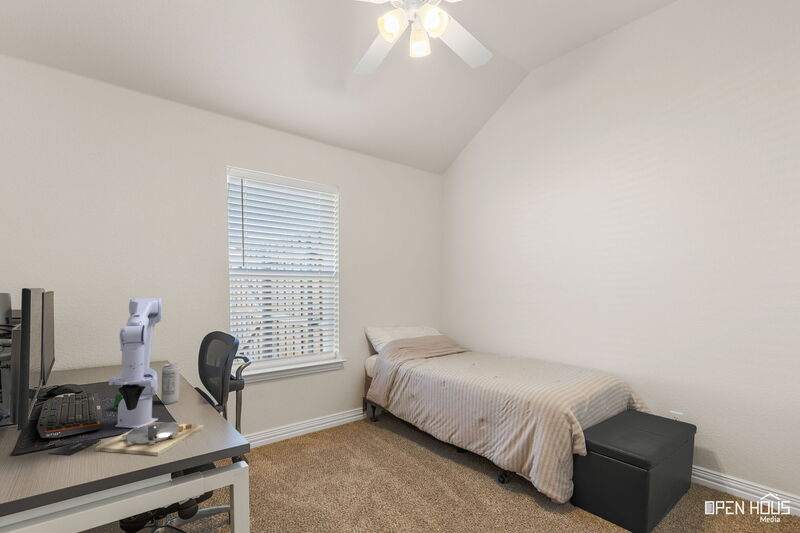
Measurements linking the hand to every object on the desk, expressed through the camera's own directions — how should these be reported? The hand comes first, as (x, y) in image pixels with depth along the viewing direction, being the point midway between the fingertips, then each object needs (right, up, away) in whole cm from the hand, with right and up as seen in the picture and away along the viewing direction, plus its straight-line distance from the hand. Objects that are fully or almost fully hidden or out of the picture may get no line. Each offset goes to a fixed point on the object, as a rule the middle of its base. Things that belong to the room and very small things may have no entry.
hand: (131, 409), depth 120 cm
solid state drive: (-13, -10, -5) cm, 17 cm away
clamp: (-18, -10, +28) cm, 35 cm away
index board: (+6, -10, +1) cm, 11 cm away
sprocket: (+6, -8, +1) cm, 10 cm away
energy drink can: (-9, -10, +35) cm, 38 cm away
